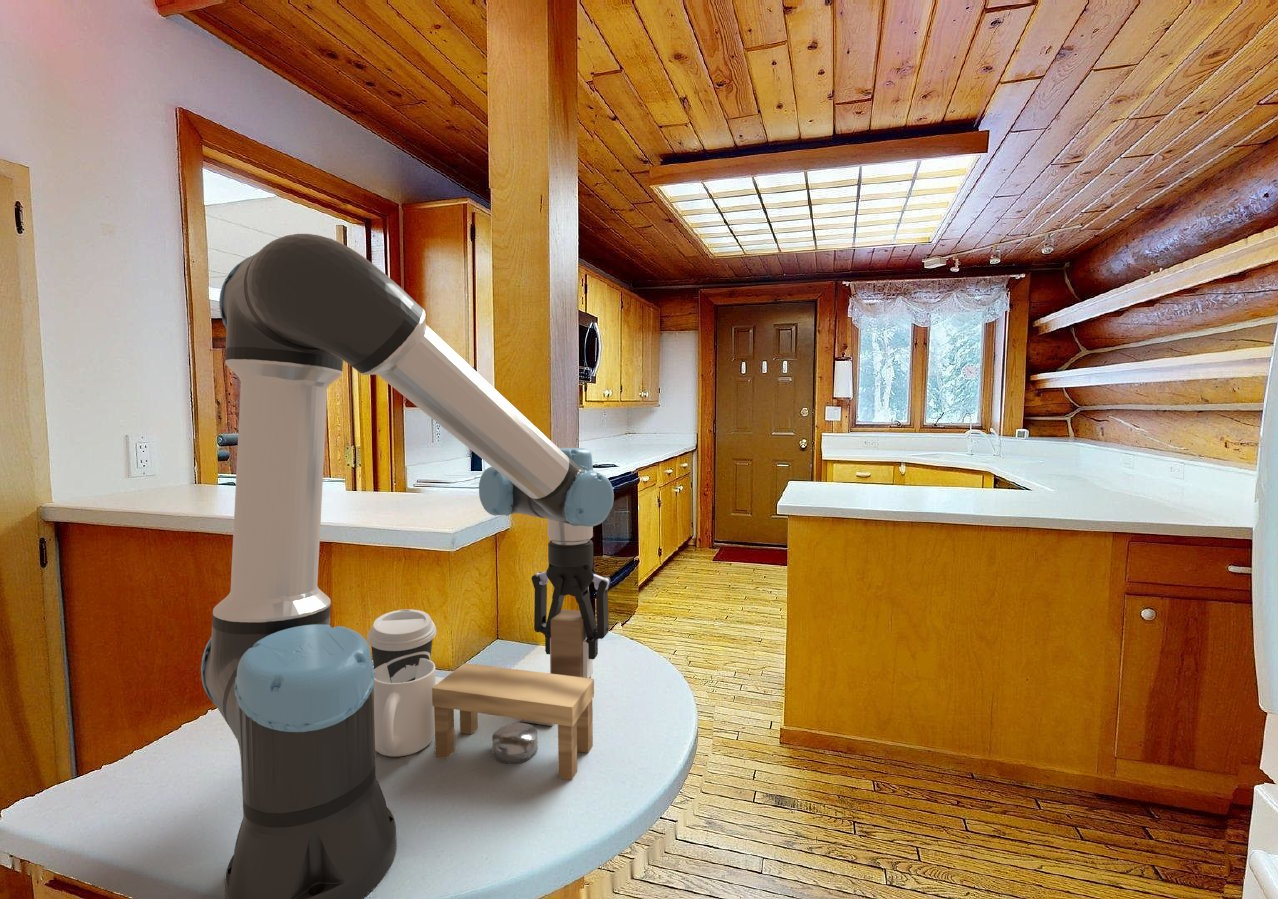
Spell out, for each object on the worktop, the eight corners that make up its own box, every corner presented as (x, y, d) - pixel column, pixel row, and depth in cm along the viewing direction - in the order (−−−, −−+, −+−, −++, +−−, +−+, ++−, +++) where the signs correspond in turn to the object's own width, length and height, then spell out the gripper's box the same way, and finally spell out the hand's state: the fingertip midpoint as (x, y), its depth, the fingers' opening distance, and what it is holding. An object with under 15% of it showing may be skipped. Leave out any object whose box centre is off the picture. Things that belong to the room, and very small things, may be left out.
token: (525, 769, 76) (525, 750, 76) (484, 762, 78) (484, 743, 78) (544, 743, 82) (544, 726, 82) (505, 737, 84) (505, 720, 84)
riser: (573, 780, 74) (572, 707, 73) (433, 756, 79) (431, 688, 78) (594, 745, 81) (593, 678, 81) (466, 725, 87) (464, 663, 86)
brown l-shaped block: (552, 726, 86) (552, 649, 85) (520, 721, 87) (519, 645, 87) (591, 676, 102) (590, 612, 101) (563, 673, 103) (562, 609, 103)
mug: (418, 775, 75) (418, 697, 74) (351, 777, 74) (350, 698, 73) (441, 724, 87) (441, 656, 86) (384, 726, 86) (383, 657, 85)
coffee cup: (446, 699, 94) (447, 611, 91) (417, 737, 84) (417, 640, 82) (389, 691, 95) (389, 603, 92) (354, 728, 85) (352, 632, 83)
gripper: (628, 538, 100) (629, 671, 101) (530, 532, 105) (532, 659, 106) (615, 548, 93) (616, 691, 94) (510, 541, 97) (512, 677, 99)
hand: (571, 674), depth 100 cm, fingers closed on brown l-shaped block, 5 cm apart
